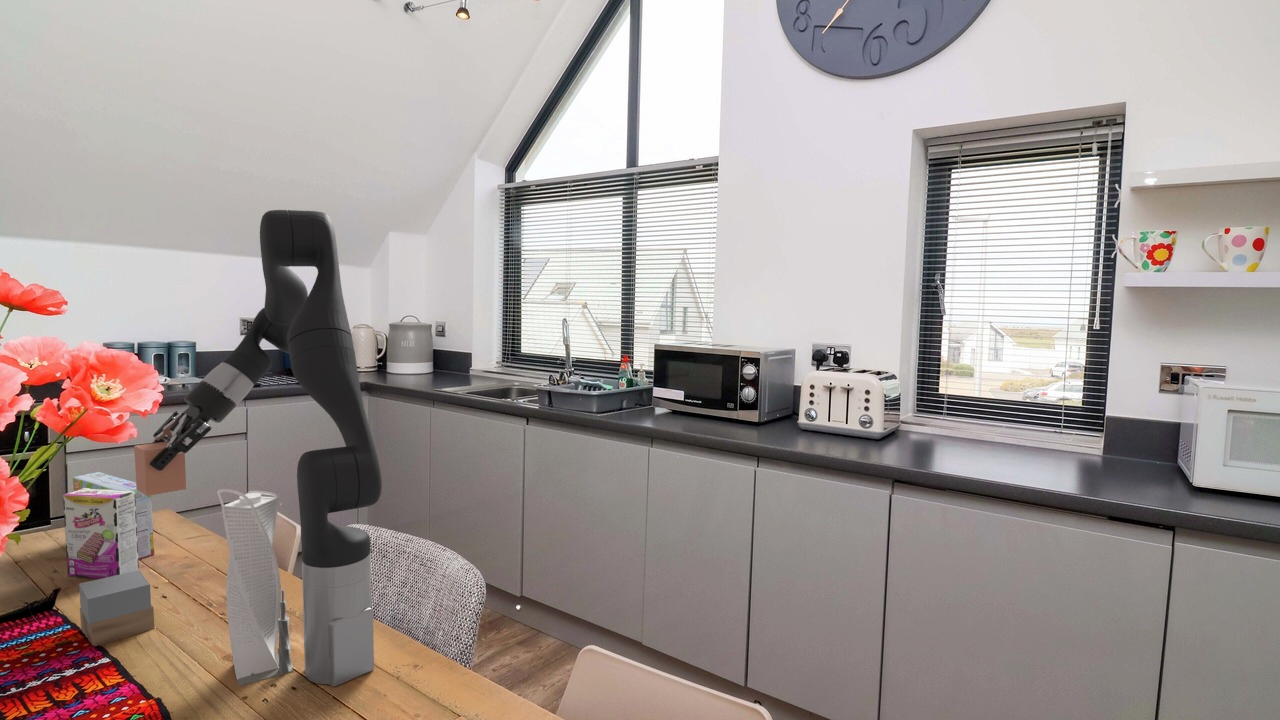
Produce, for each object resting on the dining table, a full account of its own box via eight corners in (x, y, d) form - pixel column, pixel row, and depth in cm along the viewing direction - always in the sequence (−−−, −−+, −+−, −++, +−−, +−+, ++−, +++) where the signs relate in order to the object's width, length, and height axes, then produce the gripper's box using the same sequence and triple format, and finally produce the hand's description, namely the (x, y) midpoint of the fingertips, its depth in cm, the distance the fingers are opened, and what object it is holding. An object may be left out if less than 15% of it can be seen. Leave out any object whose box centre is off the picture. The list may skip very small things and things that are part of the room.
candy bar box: (65, 577, 131) (60, 494, 130) (88, 567, 136) (84, 487, 134) (119, 581, 130) (114, 497, 128) (140, 571, 135) (136, 489, 133)
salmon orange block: (186, 489, 123) (184, 445, 123) (146, 496, 119) (144, 450, 118) (175, 482, 127) (173, 440, 126) (136, 489, 123) (134, 445, 122)
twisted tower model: (226, 691, 96) (219, 496, 93) (221, 666, 102) (214, 483, 100) (293, 673, 101) (288, 487, 98) (284, 649, 107) (279, 475, 105)
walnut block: (154, 629, 112) (153, 606, 112) (93, 648, 106) (92, 623, 106) (140, 614, 118) (139, 592, 117) (81, 631, 111) (79, 607, 111)
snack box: (74, 544, 148) (70, 476, 147) (104, 536, 153) (101, 470, 152) (126, 564, 138) (123, 491, 137) (157, 555, 143) (153, 484, 142)
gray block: (151, 607, 112) (150, 584, 111) (88, 624, 106) (87, 599, 105) (140, 592, 117) (139, 570, 117) (80, 607, 111) (79, 583, 111)
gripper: (190, 376, 132) (118, 446, 123) (218, 382, 122) (142, 459, 114) (222, 400, 136) (154, 469, 128) (251, 408, 127) (180, 483, 119)
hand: (148, 464), depth 121 cm, fingers closed on salmon orange block, 6 cm apart
